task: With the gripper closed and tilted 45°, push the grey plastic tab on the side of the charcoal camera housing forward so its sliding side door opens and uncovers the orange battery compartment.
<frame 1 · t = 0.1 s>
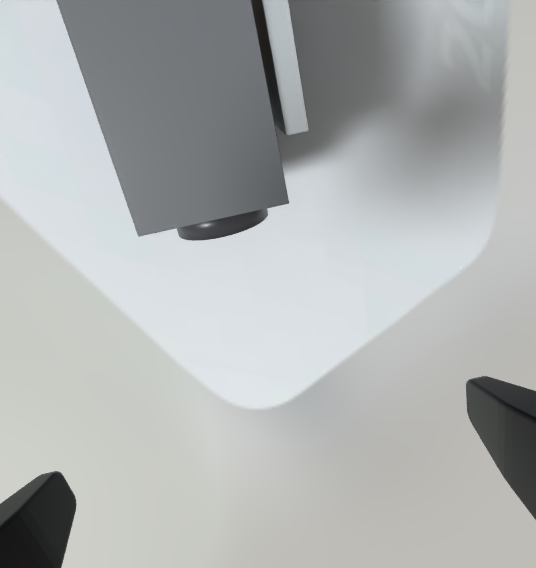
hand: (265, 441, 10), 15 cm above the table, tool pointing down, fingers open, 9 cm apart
side door: (348, 7, 15), point 5 cm above the table, slide at 0.0 cm
camera housing: (198, 86, 20), on the table
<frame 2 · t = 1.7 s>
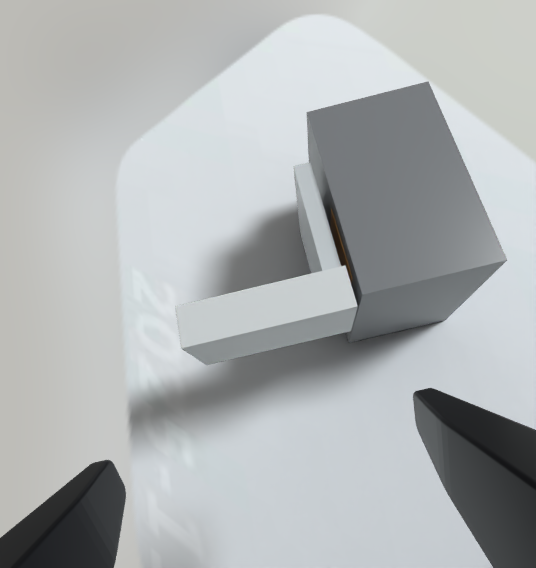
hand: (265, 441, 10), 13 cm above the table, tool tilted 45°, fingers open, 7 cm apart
side door: (262, 275, 19), point 5 cm above the table, slide at 0.0 cm
camera housing: (373, 261, 24), on the table
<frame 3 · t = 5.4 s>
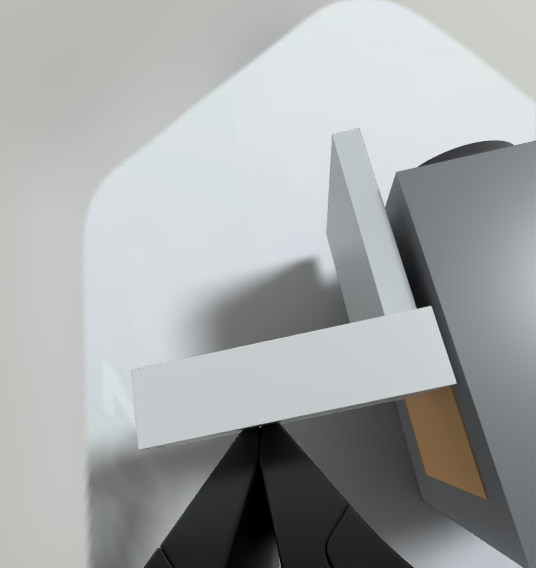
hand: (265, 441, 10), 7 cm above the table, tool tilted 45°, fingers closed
side door: (276, 302, 13), point 5 cm above the table, slide at 3.7 cm, touching gripper
camera housing: (456, 368, 16), on the table
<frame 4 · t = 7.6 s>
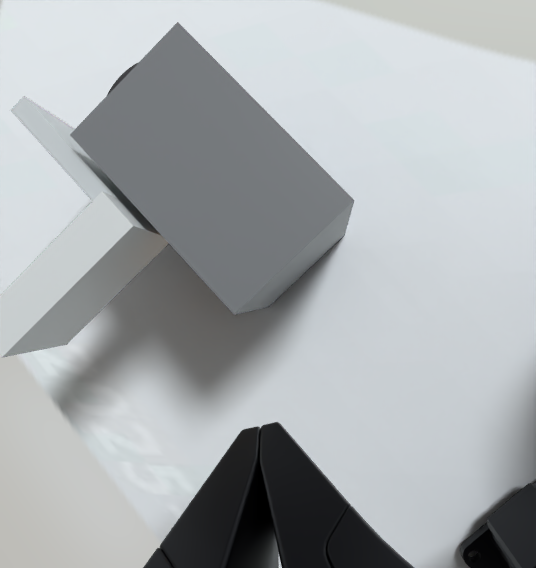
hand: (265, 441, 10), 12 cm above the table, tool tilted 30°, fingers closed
side door: (66, 233, 18), point 5 cm above the table, slide at 4.6 cm
camera housing: (250, 212, 22), on the table
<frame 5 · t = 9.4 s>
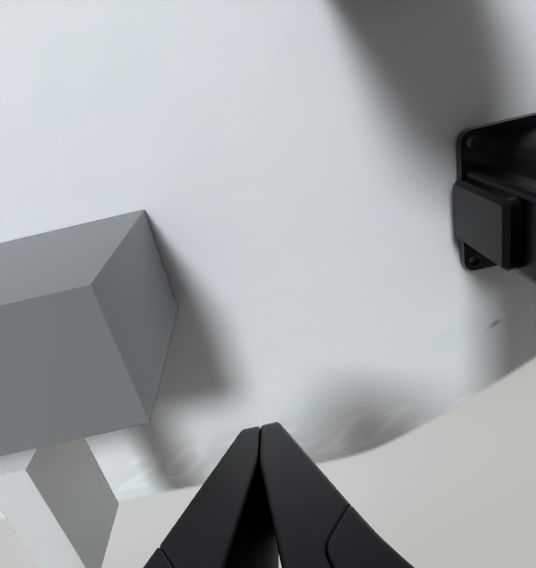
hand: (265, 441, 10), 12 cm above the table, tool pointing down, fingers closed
side door: (18, 471, 18), point 5 cm above the table, slide at 4.6 cm
camera housing: (78, 280, 21), on the table
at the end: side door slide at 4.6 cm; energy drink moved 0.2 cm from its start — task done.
